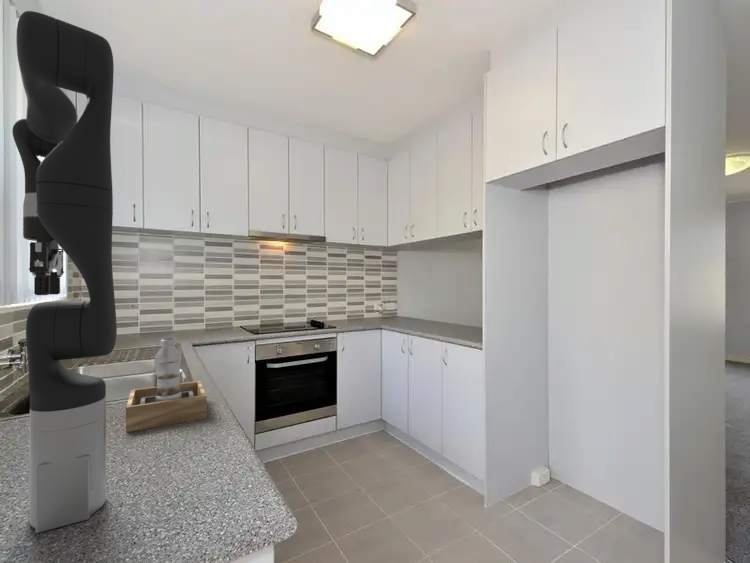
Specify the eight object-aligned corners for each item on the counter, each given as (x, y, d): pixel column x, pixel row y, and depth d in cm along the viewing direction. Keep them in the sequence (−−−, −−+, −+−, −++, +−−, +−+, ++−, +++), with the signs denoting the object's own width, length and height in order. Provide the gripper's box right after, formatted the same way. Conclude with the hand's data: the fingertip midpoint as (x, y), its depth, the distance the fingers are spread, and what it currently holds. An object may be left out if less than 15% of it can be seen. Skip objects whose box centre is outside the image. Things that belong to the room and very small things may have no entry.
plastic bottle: (185, 410, 100) (185, 338, 101) (158, 416, 96) (158, 341, 96) (177, 405, 105) (177, 336, 105) (151, 411, 100) (151, 339, 100)
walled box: (206, 417, 97) (206, 395, 97) (126, 432, 88) (125, 407, 88) (200, 400, 113) (200, 380, 113) (131, 410, 103) (131, 389, 103)
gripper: (34, 222, 80) (34, 294, 80) (11, 210, 68) (11, 295, 68) (77, 224, 84) (77, 294, 84) (63, 213, 72) (63, 295, 71)
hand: (47, 294), depth 76 cm, fingers open, 8 cm apart
